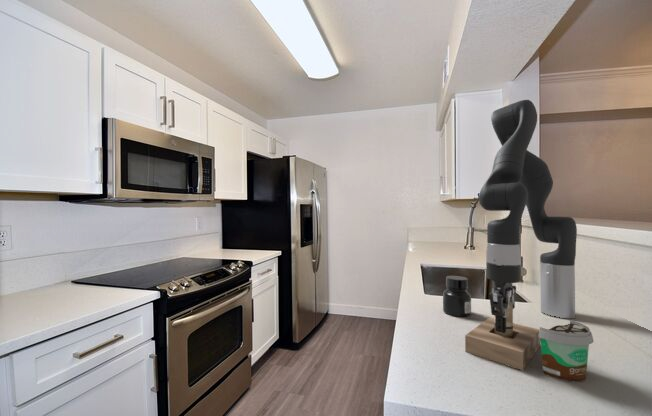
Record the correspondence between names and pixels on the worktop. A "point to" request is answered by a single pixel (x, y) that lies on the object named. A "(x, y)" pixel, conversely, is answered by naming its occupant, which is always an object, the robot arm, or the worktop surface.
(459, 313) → the ink bottle
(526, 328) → the board
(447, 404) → the worktop surface
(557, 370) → the food container
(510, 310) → the peg
